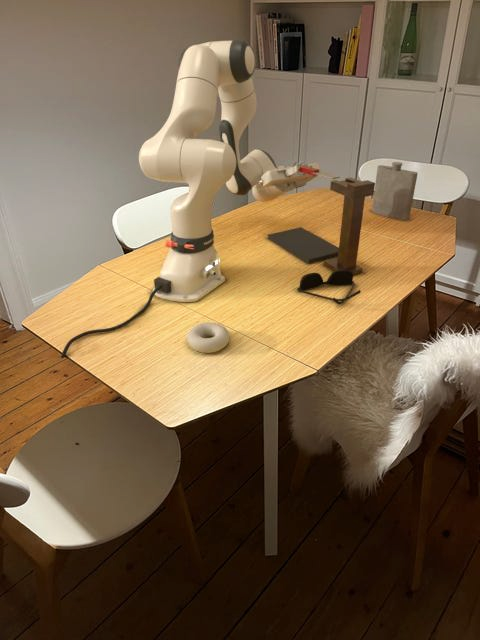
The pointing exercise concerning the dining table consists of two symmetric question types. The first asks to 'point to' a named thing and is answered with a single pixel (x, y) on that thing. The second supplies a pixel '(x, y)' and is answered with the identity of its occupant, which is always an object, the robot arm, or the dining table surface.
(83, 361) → the dining table surface
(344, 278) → the sunglasses
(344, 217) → the wooden post stand
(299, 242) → the cutting board
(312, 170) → the knife
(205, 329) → the donut
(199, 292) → the robot arm
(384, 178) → the hip flask
